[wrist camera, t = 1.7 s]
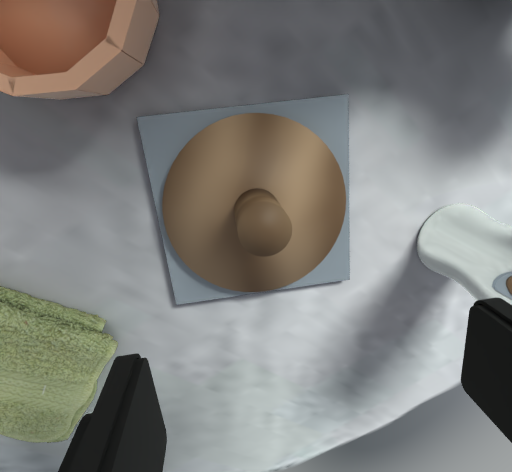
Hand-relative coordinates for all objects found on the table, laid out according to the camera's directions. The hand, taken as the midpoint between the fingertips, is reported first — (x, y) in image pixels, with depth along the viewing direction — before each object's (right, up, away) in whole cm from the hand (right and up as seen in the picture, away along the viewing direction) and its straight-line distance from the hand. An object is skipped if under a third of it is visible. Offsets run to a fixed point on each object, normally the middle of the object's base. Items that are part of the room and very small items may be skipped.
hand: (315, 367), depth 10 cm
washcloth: (-23, -5, +18) cm, 30 cm away
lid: (-2, +6, +15) cm, 16 cm away
